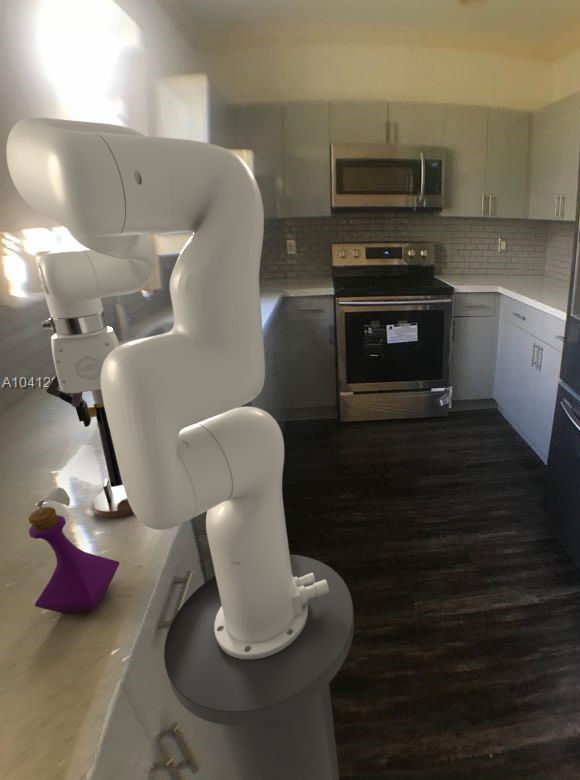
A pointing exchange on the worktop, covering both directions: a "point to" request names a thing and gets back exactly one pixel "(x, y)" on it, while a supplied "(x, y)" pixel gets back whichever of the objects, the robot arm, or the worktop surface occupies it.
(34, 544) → the worktop surface
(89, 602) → the perfume bottle
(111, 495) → the holder base
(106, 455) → the rod
